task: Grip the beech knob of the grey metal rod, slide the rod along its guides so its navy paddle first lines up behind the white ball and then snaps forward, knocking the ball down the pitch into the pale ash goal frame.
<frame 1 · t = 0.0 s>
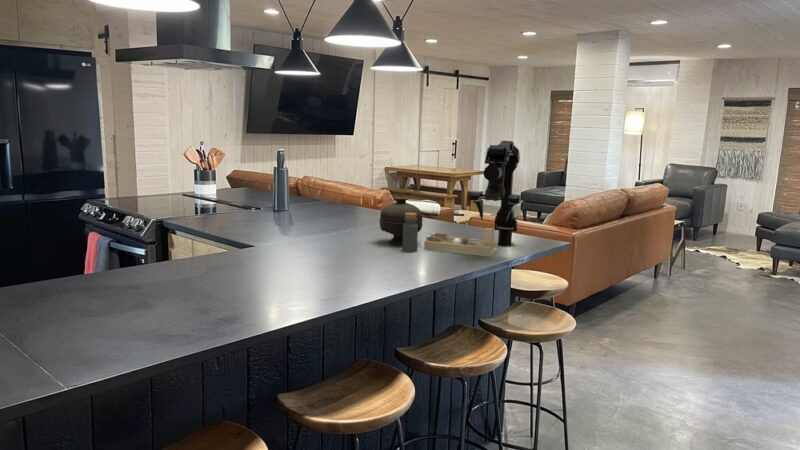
hand: (493, 220, 221), 15 cm above the counter, fingers open, 9 cm apart
pitch: (461, 249, 235), on the counter
pot: (400, 244, 243), on the counter
goal: (437, 247, 239), resting on pitch
ball: (456, 242, 236), point 3 cm above the counter, touching pitch
bottle: (409, 251, 230), on the counter
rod: (478, 238, 232), point 5 cm above the counter, slide at 0.0 cm
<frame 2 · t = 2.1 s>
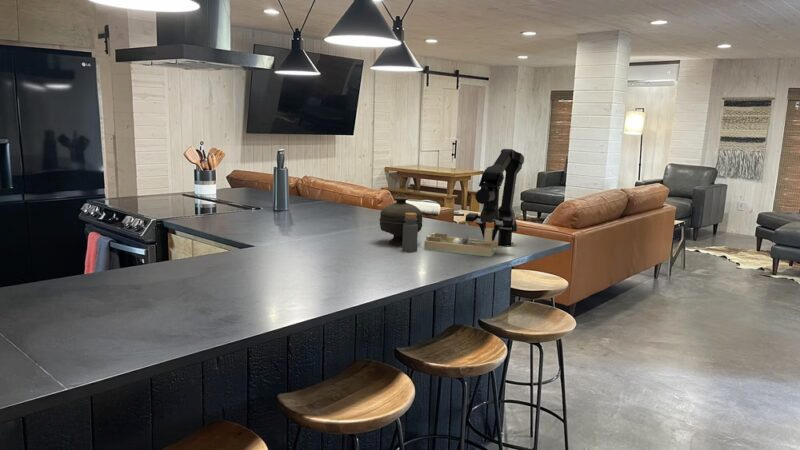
hand: (488, 240, 231), 5 cm above the counter, fingers closed on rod, 3 cm apart
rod: (478, 238, 232), point 5 cm above the counter, slide at 0.0 cm, touching gripper
everything else where it was.
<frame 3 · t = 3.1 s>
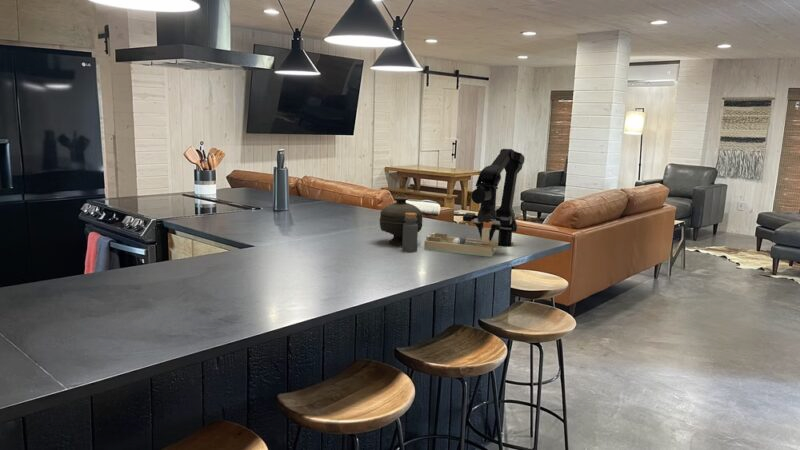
hand: (486, 240, 231), 5 cm above the counter, fingers closed on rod, 3 cm apart
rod: (475, 237, 233), point 5 cm above the counter, slide at 1.1 cm, touching gripper
everything else where it was.
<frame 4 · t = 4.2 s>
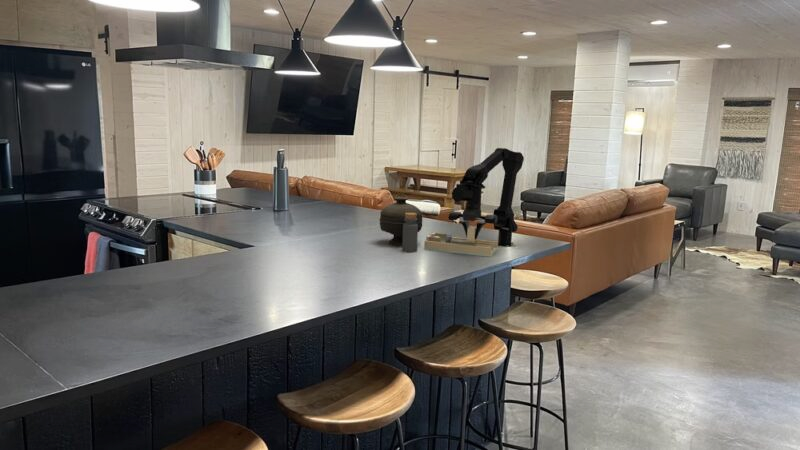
hand: (471, 238, 233), 5 cm above the counter, fingers closed on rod, 3 cm apart
ball: (436, 240, 238), point 3 cm above the counter, tilted 91°, touching pitch
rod: (461, 236, 235), point 5 cm above the counter, slide at 6.9 cm, touching gripper
everything else where it was.
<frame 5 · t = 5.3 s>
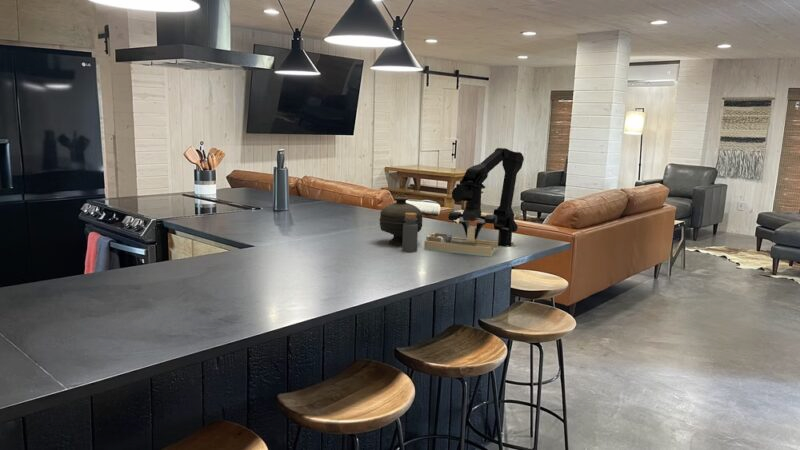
hand: (471, 238, 233), 5 cm above the counter, fingers closed on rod, 3 cm apart
ball: (439, 240, 238), point 3 cm above the counter, tilted 128°, touching pitch
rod: (461, 236, 235), point 5 cm above the counter, slide at 6.9 cm, touching gripper
everything else where it was.
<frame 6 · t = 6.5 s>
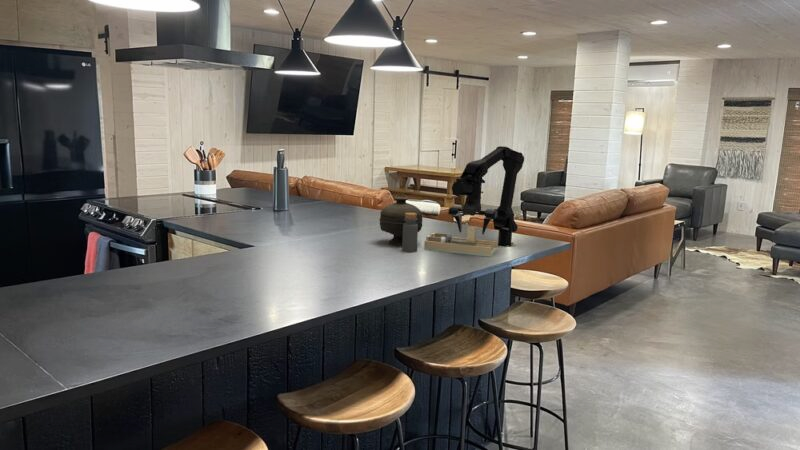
hand: (471, 233, 233), 7 cm above the counter, fingers open, 9 cm apart
ball: (442, 241, 238), point 3 cm above the counter, tilted 176°, touching pitch
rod: (461, 236, 235), point 5 cm above the counter, slide at 6.9 cm
everything else where it was.
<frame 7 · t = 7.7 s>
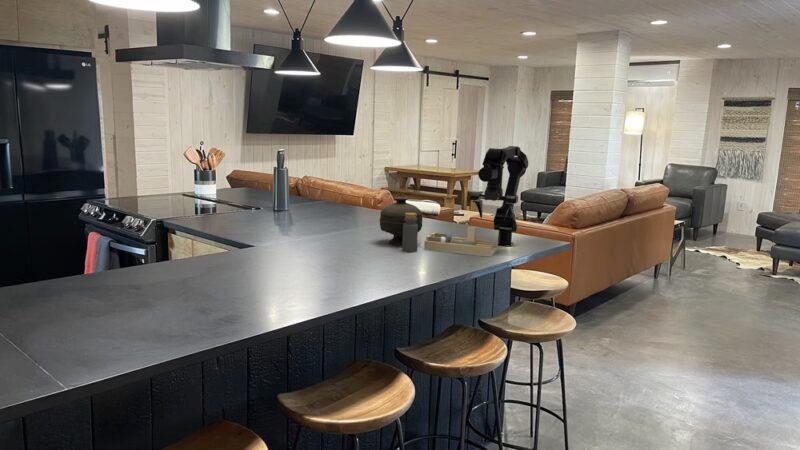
hand: (492, 218, 234), 13 cm above the counter, fingers open, 9 cm apart
nothing on the counter moved.
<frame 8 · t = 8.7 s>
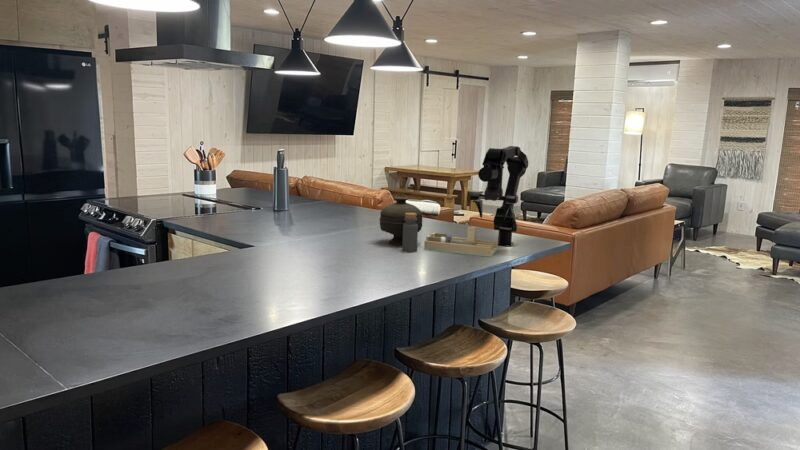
hand: (492, 218, 234), 13 cm above the counter, fingers open, 9 cm apart
nothing on the counter moved.
at the end: ball inside the target area (1.9 cm from its centre), point 2.8 cm above the counter; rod slide at 6.9 cm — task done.
